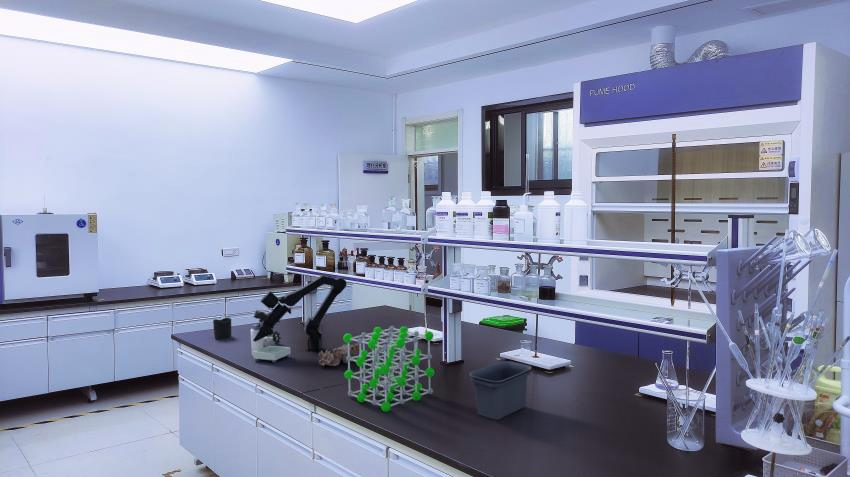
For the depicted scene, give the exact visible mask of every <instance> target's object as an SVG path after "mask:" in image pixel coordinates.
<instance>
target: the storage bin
mask: <svg viewBox="0 0 850 477" xmlns="http://www.w3.org/2000/svg"><path fill="white" fill-rule="evenodd" d="M531 369H533V368H532V366H531V365H528V364H523V363H520V362H515V361H508V360H507V361H505V360H504V361H499V362H496V363H494V364H490V365H487V366H485V367H482V368H479V369H476V370H473V371H471V372H469V376H470V382H472V383H473V384H474V390H475V391H474V393H475V400H476V409H477V410H476V411H477V414H478V415H480V416H481V417H485V418H489V419H491V420H495V421H497V420H501V419H503V418H505V417H507V416H509V415H510V414H513V413H515V412H517V411H520V410H521V409H523V408H526V405H527V404H526V403H527V386H528V376H530V375H531V373H532V372H531Z"/></svg>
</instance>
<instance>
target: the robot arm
mask: <svg viewBox="0 0 850 477" xmlns="http://www.w3.org/2000/svg"><path fill="white" fill-rule="evenodd" d="M323 285H328V286H330V290H329V292H328V293H327V294H326V296H325V298H323V301H322V303H321V304H320V306H319V307H318V308H317V310H316V312H315V314H314V315H313V316H312V317H310V316H309V317H308V318H307V319H306V321H305V322H304V323H303V324H304V326H303V327H304V328H303V329H304V332H305V334H306V335H307V336H308V337H307V348H306V351H309V352H320V351H322V350H324V349H325V347H324V346H323V334H322V332H321V331H320V330H319V328H320V325H321V321H322V320H323V319H324V316H325V315H326V313H327V312H328V310H329V309H330V307H331V306H332V304H333V302H334V301H335V299H336V298H337V296H339V295H340V294H341V293H342V292H343V291H344V290H345V289H346V287H347V281H346V279H344V278H343V277H341V276H336V277H333V276H328V275H323V274H321V275H320V276H319V277H317V278H316V279H314V280H312V281H311V282H309V283H307V284H305V285H304V286H303V287H300V288H299V289H297V290H292V291H290V292H288V293H286V294H284V295H283V296H280V297H279V296H278V297H277V295H276V294H274V293H273V291H272V290H270V291H268V292H267V293H266V294H264V296H263V297H261V299H260V300H259V302H260V303H262V304H263V305H264V306H265V307H266V308H267V309H272V310H271V311H269V312H268V313H266V312H264V311H262V310H258V309H256V310H255V312H254V314H253V318H254V319H258V322H257V324H258V325H259V332H258V333H257V335H256V337H255V338H254V340H253V341H254V342H256V341H258V340H260V339H262V338H264V337H272V335H274V334H273V332H274V328H275V326H276V325H277V323H280V320H281V319H282V318H283V317H284V316H285V315H286V314H287V313H288V314H290V315H291V314H292V307H294V306H296V304H298V303H299V302H300V301H301V300H302V299H303V297H305V296H307V295H309V294H310V293H312V292H313V291H315V290H317V289H318V288H319V287H321V286H323Z"/></svg>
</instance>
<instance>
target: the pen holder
mask: <svg viewBox="0 0 850 477" xmlns="http://www.w3.org/2000/svg"><path fill="white" fill-rule="evenodd" d="M212 324H213V333H214V339H215V340H226V339H229V338H232V318H231V317H223V318H222V319H213V320H212Z"/></svg>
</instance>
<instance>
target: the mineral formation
mask: <svg viewBox="0 0 850 477" xmlns="http://www.w3.org/2000/svg"><path fill="white" fill-rule="evenodd" d="M349 349H350V352H351V353H352V355H356V353H358V352H360V347H359V343H354V344H353V345H351V343H349ZM323 350H324V349H322V350H319V353H318V355H317V357H318V358H319V361H318V365H321V366H323V367H325V365H326V366H329V367H336V366H339V365H340V364H341V360H342V363H345V364H348V361H347V356H348V343H345V344H342V345H341V346H338V347H337V348H334V349H333V350H332V352H331V351H330V350H329V351H328V349H326V350H325V352H323ZM361 350H363V344H361Z"/></svg>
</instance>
